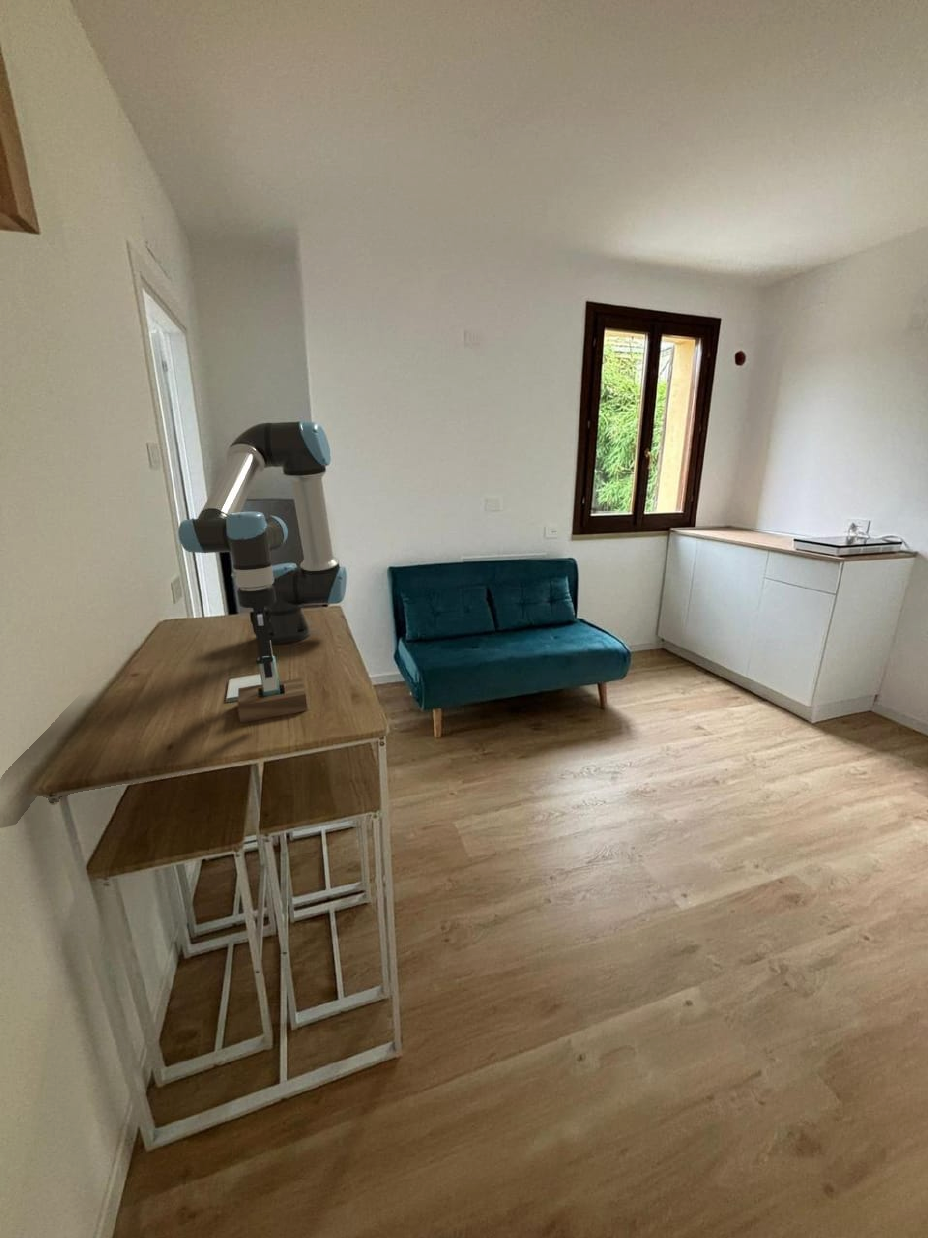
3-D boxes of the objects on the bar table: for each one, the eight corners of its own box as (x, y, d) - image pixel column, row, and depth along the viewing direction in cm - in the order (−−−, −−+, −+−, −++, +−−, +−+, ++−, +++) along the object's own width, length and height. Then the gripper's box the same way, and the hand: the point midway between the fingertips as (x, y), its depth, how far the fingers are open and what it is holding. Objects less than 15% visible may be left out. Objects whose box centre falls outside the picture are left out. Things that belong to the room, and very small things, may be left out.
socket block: (241, 703, 119) (238, 688, 118) (303, 692, 124) (301, 677, 123) (240, 723, 110) (237, 706, 109) (307, 710, 115) (305, 693, 114)
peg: (265, 705, 118) (257, 656, 115) (281, 702, 119) (274, 654, 116) (265, 711, 115) (257, 662, 111) (282, 708, 116) (275, 659, 113)
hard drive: (263, 692, 122) (262, 673, 134) (225, 698, 120) (228, 678, 131) (264, 698, 123) (263, 679, 134) (226, 704, 120) (229, 684, 131)
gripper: (237, 576, 118) (251, 662, 125) (235, 602, 96) (252, 704, 103) (271, 573, 121) (283, 657, 127) (277, 597, 99) (291, 697, 105)
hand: (269, 678), depth 115 cm, fingers open, 13 cm apart
